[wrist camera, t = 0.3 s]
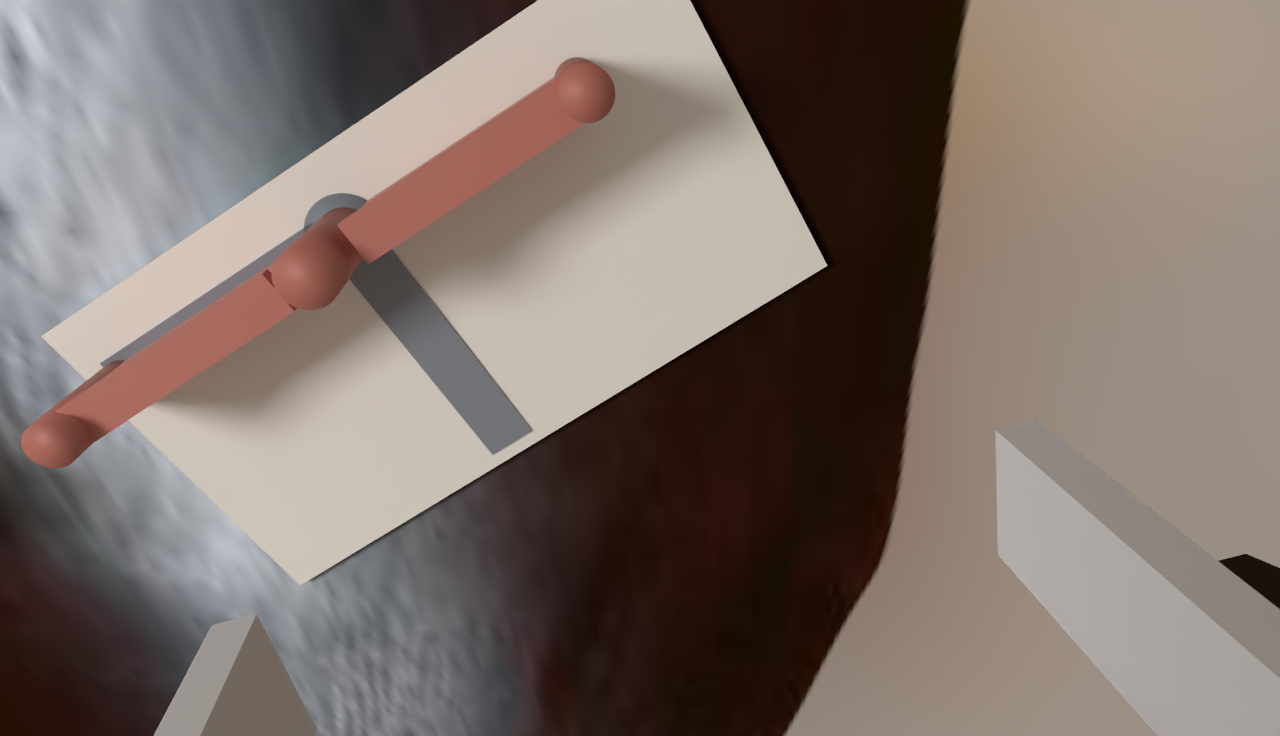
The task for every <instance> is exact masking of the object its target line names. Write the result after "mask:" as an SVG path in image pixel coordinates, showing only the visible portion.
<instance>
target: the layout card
mask: <svg viewBox="0 0 1280 736" xmlns="http://www.w3.org/2000/svg"><path fill="white" fill-rule="evenodd" d="M573 57H581V58H585V59H587V60H589V61H591V62H592V63H594V64H596V65H597V66H599V67H601V68H602V69H604V70H605V71H606V72H607V73H608V74H609V76H610V77H611V79H612V81H613V84H614V87H615V101H614V104H613V107H612V109H611V110H610V112H609V113H608V114H607V115H606V116H605V117H604V118H603V119H601V120H599V121H597V122H594V123H584V124H583V125H581V126H580V127H578V128H577V129H575V130H574V131H572V132H571V133H569V134H568V135H566V136H564V137H563V138H561V139H560V140H558V141H557V142H555V143H554V144H552V145H551V146H549V147H548V148H546V149H545V150H543V151H541V152H540V153H538V154H537V155H535V156H534V157H532V158H531V159H529V160H528V161H526V162H525V163H523V164H522V165H520V166H518V167H517V168H515V169H514V170H512V171H511V172H509V173H508V174H506V175H505V176H503V177H502V178H500V179H499V180H497V181H495V182H494V183H492V184H491V185H489V186H488V187H486V188H485V189H483V190H482V191H480V192H479V193H477V194H476V195H474V196H472V197H471V198H469V199H468V200H466V201H465V202H463V203H462V204H460V205H459V206H457V207H456V208H454V209H453V210H451V211H449V212H448V213H446V214H445V215H443V216H442V217H440V218H439V219H437V220H436V221H434V222H433V223H431V224H430V225H428V226H426V227H425V228H423V229H422V230H420V231H419V232H417V233H416V234H414V235H413V236H411V237H410V238H408V239H406V240H405V241H403V242H402V243H400V244H399V245H397V246H396V247H394V248H393V249H391V250H390V251H388V252H387V253H385V254H383V255H382V256H380V257H379V258H377V259H376V260H374V261H373V262H371V263H370V264H368V263H367V262H366V261H365V260H363V261H362V262H361V264H360V265H359V266H358V268H357V269H356V271H355V272H354V273H353V275H352V276H351V278H350V279H349V280H348V282H347V283H346V284H345V286H344V287H343V289H342V290H341V291H340V293H339V294H338V296H337V297H336V298H335V300H334V301H333V302H332V303H330V304H329V305H328V306H326V307H324V308H321V309H317V310H303V309H299V308H297V309H296V310H295V311H294V312H293V313H291V314H290V315H288V316H287V317H285V318H284V319H282V320H281V321H279V322H277V323H276V324H274V325H273V326H271V327H270V328H268V329H267V330H265V331H264V332H262V333H261V334H259V335H258V336H256V337H254V338H253V339H251V340H250V341H248V342H247V343H245V344H244V345H242V346H241V347H239V348H238V349H236V350H235V351H233V352H231V353H230V354H228V355H227V356H225V357H224V358H222V359H221V360H219V361H218V362H216V363H215V364H213V365H212V366H210V367H208V368H207V369H205V370H204V371H202V372H201V373H199V374H198V375H196V376H195V377H193V378H192V379H190V380H189V381H187V382H185V383H184V384H182V385H181V386H179V387H178V388H176V389H175V390H173V391H172V392H170V393H169V394H167V395H166V396H164V397H162V398H161V399H159V400H158V401H156V402H155V403H153V404H152V405H150V406H149V407H147V408H146V409H144V410H143V411H141V412H139V413H138V414H136V415H135V416H133V417H132V418H130V419H129V421H130V422H131V423H132V424H133V425H134V426H135V427H136V428H137V429H138V430H139V431H140V432H141V433H142V434H143V435H144V436H145V437H146V438H148V439H149V440H150V441H151V442H152V443H153V444H154V445H155V446H156V447H157V448H158V449H159V450H160V451H161V452H162V453H163V454H164V455H165V456H166V457H167V458H168V459H169V460H170V461H171V462H172V463H174V464H175V465H176V466H177V467H178V468H179V469H180V470H181V471H182V472H183V473H184V474H185V475H186V476H187V477H188V478H189V479H190V480H191V481H192V482H193V483H194V484H195V485H196V486H197V487H198V488H200V489H201V490H202V491H203V492H204V493H205V494H206V495H207V496H208V497H209V498H210V499H211V500H212V501H213V502H214V503H215V504H216V505H217V506H218V507H219V508H220V509H221V510H222V511H223V512H225V513H226V514H227V515H228V516H229V517H230V518H231V519H232V520H233V521H234V522H235V523H236V524H237V525H238V526H239V527H240V528H241V529H242V530H243V531H244V532H245V533H246V534H247V535H248V536H249V537H251V538H252V539H253V540H254V541H255V542H256V543H257V544H258V545H259V546H260V547H261V548H262V549H263V550H264V551H265V552H266V553H267V554H268V555H269V556H270V557H271V558H272V559H273V560H274V561H275V562H277V563H278V564H279V565H280V566H281V567H282V568H283V569H284V570H285V571H286V572H287V573H288V574H289V575H290V576H291V577H292V578H293V579H294V580H295V581H296V582H297V583H298V584H299V585H302V584H304V583H305V582H307V581H308V580H310V579H312V578H313V577H315V576H317V575H318V574H320V573H322V572H323V571H325V570H327V569H328V568H330V567H332V566H333V565H335V564H336V563H338V562H340V561H341V560H343V559H345V558H346V557H348V556H350V555H351V554H353V553H355V552H356V551H358V550H360V549H361V548H363V547H365V546H366V545H368V544H369V543H371V542H373V541H374V540H376V539H378V538H379V537H381V536H383V535H384V534H386V533H388V532H389V531H391V530H393V529H394V528H396V527H397V526H399V525H401V524H402V523H404V522H406V521H407V520H409V519H411V518H412V517H414V516H416V515H417V514H419V513H421V512H422V511H424V510H426V509H427V508H429V507H430V506H432V505H434V504H435V503H437V502H439V501H440V500H442V499H444V498H445V497H447V496H449V495H450V494H452V493H454V492H455V491H457V490H458V489H460V488H462V487H463V486H465V485H467V484H468V483H470V482H472V481H473V480H475V479H477V478H478V477H480V476H482V475H483V474H485V473H487V472H488V471H490V470H491V469H493V468H495V467H496V466H498V465H500V464H501V463H503V462H505V461H506V460H508V459H510V458H511V457H513V456H515V455H516V454H518V453H519V452H521V451H523V450H524V449H526V448H528V447H529V446H531V445H533V444H534V443H536V442H538V441H539V440H541V439H543V438H544V437H546V436H547V435H549V434H551V433H552V432H554V431H556V430H557V429H559V428H561V427H562V426H564V425H566V424H567V423H569V422H571V421H572V420H574V419H576V418H577V417H579V416H580V415H582V414H584V413H585V412H587V411H589V410H590V409H592V408H594V407H595V406H597V405H599V404H600V403H602V402H604V401H605V400H607V399H608V398H610V397H612V396H613V395H615V394H617V393H618V392H620V391H622V390H623V389H625V388H627V387H628V386H630V385H632V384H633V383H635V382H637V381H638V380H640V379H641V378H643V377H645V376H646V375H648V374H650V373H651V372H653V371H655V370H656V369H658V368H660V367H661V366H663V365H665V364H666V363H668V362H669V361H671V360H673V359H674V358H676V357H678V356H679V355H681V354H683V353H684V352H686V351H688V350H689V349H691V348H693V347H694V346H696V345H698V344H699V343H701V342H702V341H704V340H706V339H707V338H709V337H711V336H712V335H714V334H716V333H717V332H719V331H721V330H722V329H724V328H726V327H727V326H729V325H730V324H732V323H734V322H735V321H737V320H739V319H740V318H742V317H744V316H745V315H747V314H749V313H750V312H752V311H754V310H755V309H757V308H759V307H760V306H762V305H763V304H765V303H767V302H768V301H770V300H772V299H773V298H775V297H777V296H778V295H780V294H782V293H783V292H785V291H787V290H788V289H790V288H791V287H793V286H795V285H796V284H798V283H800V282H801V281H803V280H805V279H806V278H808V277H810V276H811V275H813V274H815V273H816V272H818V271H820V270H821V269H823V268H824V267H826V266H827V264H826V262H825V260H824V258H823V256H822V254H821V252H820V250H819V248H818V247H817V245H816V243H815V241H814V239H813V237H812V235H811V233H810V231H809V229H808V227H807V225H806V223H805V221H804V219H803V218H802V216H801V214H800V212H799V210H798V208H797V206H796V204H795V202H794V200H793V198H792V196H791V194H790V192H789V190H788V189H787V187H786V185H785V183H784V181H783V179H782V177H781V175H780V173H779V171H778V169H777V167H776V165H775V163H774V161H773V159H772V158H771V156H770V154H769V152H768V150H767V148H766V146H765V144H764V142H763V140H762V138H761V136H760V134H759V132H758V130H757V129H756V127H755V125H754V123H753V121H752V119H751V117H750V115H749V113H748V111H747V109H746V107H745V105H744V103H743V101H742V100H741V98H740V96H739V94H738V92H737V90H736V88H735V86H734V84H733V82H732V80H731V78H730V76H729V74H728V72H727V70H726V69H725V67H724V65H723V63H722V61H721V59H720V57H719V55H718V53H717V51H716V49H715V47H714V45H713V43H712V41H711V40H710V38H709V36H708V34H707V32H706V30H705V28H704V26H703V24H702V22H701V20H700V18H699V16H698V14H697V12H696V11H695V9H694V7H693V5H692V3H691V1H690V0H538V1H536V2H535V3H533V4H532V5H530V6H529V7H527V8H526V9H524V10H523V11H522V12H520V13H519V14H517V15H516V16H514V17H513V18H511V19H510V20H508V21H507V22H505V23H504V24H502V25H501V26H499V27H498V28H496V29H495V30H493V31H492V32H490V33H489V34H488V35H486V36H485V37H483V38H482V39H480V40H479V41H477V42H476V43H474V44H473V45H471V46H470V47H468V48H467V49H465V50H464V51H462V52H461V53H459V54H458V55H456V56H455V57H454V58H452V59H451V60H449V61H448V62H446V63H445V64H443V65H442V66H440V67H439V68H437V69H436V70H434V71H433V72H431V73H430V74H428V75H427V76H425V77H424V78H422V79H421V80H420V81H418V82H417V83H415V84H414V85H412V86H411V87H409V88H408V89H406V90H405V91H403V92H402V93H400V94H399V95H397V96H396V97H394V98H393V99H391V100H390V101H388V102H387V103H386V104H384V105H383V106H381V107H380V108H378V109H377V110H375V111H374V112H372V113H371V114H369V115H368V116H366V117H365V118H363V119H362V120H360V121H359V122H357V123H356V124H354V125H353V126H352V127H350V128H349V129H347V130H346V131H344V132H343V133H341V134H340V135H338V136H337V137H335V138H334V139H332V140H331V141H329V142H328V143H326V144H325V145H323V146H322V147H320V148H319V149H318V150H316V151H315V152H313V153H312V154H310V155H309V156H307V157H306V158H304V159H303V160H301V161H300V162H298V163H297V164H295V165H294V166H292V167H291V168H289V169H288V170H286V171H285V172H283V173H282V174H281V175H279V176H278V177H276V178H275V179H273V180H272V181H270V182H269V183H267V184H266V185H264V186H263V187H261V188H260V189H258V190H257V191H255V192H254V193H252V194H251V195H249V196H248V197H247V198H245V199H244V200H242V201H241V202H239V203H238V204H236V205H235V206H233V207H232V208H230V209H229V210H227V211H226V212H224V213H223V214H221V215H220V216H218V217H217V218H215V219H214V220H213V221H211V222H210V223H208V224H207V225H205V226H204V227H202V228H201V229H199V230H198V231H196V232H195V233H193V234H192V235H190V236H189V237H187V238H186V239H184V240H183V241H181V242H180V243H179V244H177V245H176V246H174V247H173V248H171V249H170V250H168V251H167V252H165V253H164V254H162V255H161V256H159V257H158V258H156V259H155V260H153V261H152V262H150V263H149V264H147V265H146V266H145V267H143V268H142V269H140V270H139V271H137V272H136V273H134V274H133V275H131V276H130V277H128V278H127V279H125V280H124V281H122V282H121V283H119V284H118V285H116V286H115V287H113V288H112V289H111V290H109V291H108V292H106V293H105V294H103V295H102V296H100V297H99V298H97V299H96V300H94V301H93V302H91V303H90V304H88V305H87V306H85V307H84V308H82V309H81V310H79V311H78V312H77V313H75V314H74V315H72V316H71V317H69V318H68V319H66V320H65V321H63V322H62V323H60V324H59V325H57V326H56V327H54V328H53V329H51V330H50V331H48V332H47V333H45V334H44V335H43V336H41V337H42V338H43V339H45V340H46V341H47V342H48V343H49V344H50V345H51V346H52V347H53V348H54V349H55V350H56V351H57V352H58V353H59V354H60V355H61V356H62V357H63V358H64V359H65V360H66V361H67V362H68V363H69V364H71V365H72V366H73V367H74V368H75V369H76V370H77V371H78V372H79V373H80V374H81V375H82V376H83V377H84V378H85V379H86V380H88V379H89V378H91V377H92V376H93V375H94V374H96V373H97V372H98V371H100V370H101V369H102V368H103V367H105V366H106V365H107V364H108V363H110V362H113V361H118V360H124V361H126V360H127V359H129V358H130V357H132V356H133V355H135V354H136V353H138V352H139V351H141V350H142V349H144V348H145V347H147V346H148V345H150V344H151V343H153V342H154V341H156V340H157V339H159V338H160V337H162V336H163V335H165V334H166V333H168V332H169V331H171V330H172V329H174V328H175V327H177V326H178V325H180V324H181V323H183V322H184V321H186V320H187V319H189V318H190V317H192V316H194V315H195V314H197V313H198V312H200V311H201V310H203V309H204V308H206V307H207V306H209V305H210V304H212V303H213V302H215V301H216V300H218V299H219V298H221V297H222V296H224V295H225V294H227V293H228V292H230V291H231V290H233V289H234V288H236V287H237V286H239V285H240V284H242V283H243V282H245V281H246V280H248V279H249V278H251V277H252V276H254V275H255V274H257V273H258V272H260V271H261V270H263V269H264V268H266V267H267V266H269V265H270V264H272V263H273V262H275V261H276V259H277V258H278V257H279V256H280V255H281V254H282V253H283V252H284V251H285V250H286V249H287V248H288V247H290V246H291V245H292V244H293V243H294V242H295V241H296V240H297V239H298V238H299V237H301V236H302V235H303V234H304V233H305V232H306V231H307V230H308V229H309V228H310V227H312V226H313V225H314V224H315V223H316V222H317V221H318V220H319V219H320V218H321V217H323V216H324V215H325V214H326V213H327V212H329V211H330V210H332V209H335V208H340V207H346V208H351V209H354V210H358V209H360V208H361V207H362V206H363V205H364V204H365V203H366V202H367V201H368V200H369V199H371V198H372V197H374V196H375V195H377V194H378V193H380V192H381V191H383V190H384V189H386V188H387V187H389V186H390V185H392V184H393V183H395V182H396V181H398V180H399V179H401V178H402V177H404V176H405V175H407V174H408V173H410V172H411V171H413V170H414V169H416V168H417V167H419V166H420V165H422V164H423V163H425V162H426V161H428V160H429V159H431V158H432V157H434V156H435V155H437V154H439V153H440V152H442V151H443V150H445V149H446V148H448V147H449V146H451V145H452V144H454V143H455V142H457V141H458V140H460V139H461V138H463V137H464V136H466V135H467V134H469V133H470V132H472V131H473V130H475V129H476V128H478V127H479V126H481V125H482V124H484V123H485V122H487V121H488V120H490V119H491V118H493V117H494V116H496V115H497V114H499V113H500V112H502V111H503V110H505V109H506V108H508V107H509V106H511V105H512V104H514V103H515V102H517V101H518V100H520V99H522V98H523V97H525V96H526V95H528V94H529V93H531V92H532V91H534V90H535V89H537V88H538V87H540V86H541V85H543V84H544V83H546V82H547V81H549V80H550V79H552V78H553V77H554V76H555V73H556V70H557V69H558V67H559V66H560V64H561V63H562V62H564V61H565V60H567V59H569V58H573Z"/></svg>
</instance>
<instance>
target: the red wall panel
mask: <svg viewBox="0 0 1280 736" xmlns="http://www.w3.org/2000/svg"><path fill="white" fill-rule="evenodd" d="M614 101H615V87H614V84H613V81H612V79H611V77H610V76H609V74H608V73H607V72H606V71H605V70H604V69H602V68H601V67H599V66H597V65H596V64H594V63H592V62H591V61H589V60H587V59H585V58H581V57H573V58H569V59H567V60H565V61H564V62H562V63H561V64H560V66H559V67H558V69H557V70H556V73H555V76H554V77H553V78H552V79H550V80H549V81H547V82H546V83H544V84H543V85H541V86H540V87H538V88H537V89H535V90H534V91H532V92H531V93H529V94H528V95H526V96H525V97H523V98H522V99H520V100H518V101H517V102H515V103H514V104H512V105H511V106H509V107H508V108H506V109H505V110H503V111H502V112H500V113H499V114H497V115H496V116H494V117H493V118H491V119H490V120H488V121H487V122H485V123H484V124H482V125H481V126H479V127H478V128H476V129H475V130H473V131H472V132H470V133H469V134H467V135H466V136H464V137H463V138H461V139H460V140H458V141H457V142H455V143H454V144H452V145H451V146H449V147H448V148H446V149H445V150H443V151H442V152H440V153H439V154H437V155H435V156H434V157H432V158H431V159H429V160H428V161H426V162H425V163H423V164H422V165H420V166H419V167H417V168H416V169H414V170H413V171H411V172H410V173H408V174H407V175H405V176H404V177H402V178H401V179H399V180H398V181H396V182H395V183H393V184H392V185H390V186H389V187H387V188H386V189H384V190H383V191H381V192H380V193H378V194H377V195H375V196H374V197H372V198H371V199H369V200H368V201H367V202H366V203H365V204H364V205H363V206H362V207H361V208H360V209H358V210H357V211H355V212H354V213H352V214H351V215H349V216H348V217H346V218H345V219H343V220H342V221H340V222H339V223H338V224H337V226H338V227H339V228H340V229H341V231H342V232H343V233H344V235H345V236H346V237H347V238H348V240H349V241H350V242H351V243H352V245H353V246H354V247H355V248H356V250H357V251H358V252H359V253H360V255H361V256H362V257H363V258H364V260H365V261H366V262H367V263H368V264H370V263H371V262H373V261H374V260H376V259H377V258H379V257H380V256H382V255H383V254H385V253H387V252H388V251H390V250H391V249H393V248H394V247H396V246H397V245H399V244H400V243H402V242H403V241H405V240H406V239H408V238H410V237H411V236H413V235H414V234H416V233H417V232H419V231H420V230H422V229H423V228H425V227H426V226H428V225H430V224H431V223H433V222H434V221H436V220H437V219H439V218H440V217H442V216H443V215H445V214H446V213H448V212H449V211H451V210H453V209H454V208H456V207H457V206H459V205H460V204H462V203H463V202H465V201H466V200H468V199H469V198H471V197H472V196H474V195H476V194H477V193H479V192H480V191H482V190H483V189H485V188H486V187H488V186H489V185H491V184H492V183H494V182H495V181H497V180H499V179H500V178H502V177H503V176H505V175H506V174H508V173H509V172H511V171H512V170H514V169H515V168H517V167H518V166H520V165H522V164H523V163H525V162H526V161H528V160H529V159H531V158H532V157H534V156H535V155H537V154H538V153H540V152H541V151H543V150H545V149H546V148H548V147H549V146H551V145H552V144H554V143H555V142H557V141H558V140H560V139H561V138H563V137H564V136H566V135H568V134H569V133H571V132H572V131H574V130H575V129H577V128H578V127H580V126H581V125H583V124H584V123H594V122H597V121H599V120H601V119H603V118H604V117H605V116H606V115H607V114H608V113H609V112H610V110H611V109H612V107H613V104H614Z"/></svg>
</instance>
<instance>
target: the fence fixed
mask: <svg viewBox="0 0 1280 736" xmlns="http://www.w3.org/2000/svg"><path fill="white" fill-rule="evenodd" d="M355 211H357V210H354V209H351V208H346V207H340V208H335V209H332V210H330V211H329V212H327V213H326V214H325V215H324V216H323V217H321V218H320V219H319V220H318V221H317V222H316V223H315V224H314V225H313V226H312V227H310V228H309V229H308V230H307V231H306V232H305V233H304V234H303V235H302V236H301V237H299V238H298V239H297V240H296V241H295V242H294V243H293V244H292V245H291V246H290V247H288V248H287V249H286V250H285V251H284V252H283V253H282V254H281V255H280V256H279V257H278V258H277V259H276V261H275V262H273V263H272V264H270V265H269V266H267V267H266V268H264V269H263V270H261V271H260V272H258V273H257V274H255V275H254V276H252V277H251V278H249V279H248V280H246V281H245V282H243V283H242V284H240V285H239V286H237V287H236V288H234V289H233V290H231V291H230V292H228V293H227V294H225V295H224V296H222V297H221V298H219V299H218V300H216V301H215V302H213V303H212V304H210V305H209V306H207V307H206V308H204V309H203V310H201V311H200V312H198V313H197V314H195V315H194V316H192V317H190V318H189V319H187V320H186V321H184V322H183V323H181V324H180V325H178V326H177V327H175V328H174V329H172V330H171V331H169V332H168V333H166V334H165V335H163V336H162V337H160V338H159V339H157V340H156V341H154V342H153V343H151V344H150V345H148V346H147V347H145V348H144V349H142V350H141V351H139V352H138V353H136V354H135V355H133V356H132V357H130V358H129V359H127V360H126V361H124V360H118V361H113V362H110V363H108V364H107V365H106V366H105V367H103V368H102V369H101V370H100V371H98V372H97V373H96V374H94V375H93V376H92V377H91V378H89V379H88V380H87V381H86V382H84V383H83V384H82V385H81V386H79V387H78V388H77V389H76V390H74V391H73V392H72V393H71V394H69V395H68V396H67V397H66V398H64V399H63V400H62V401H61V402H59V403H58V404H57V405H56V406H54V407H53V408H52V409H51V410H49V411H48V412H47V413H45V414H44V415H43V416H42V417H40V418H39V419H38V420H37V421H35V422H34V423H33V424H32V425H30V426H29V427H28V428H27V429H26V430H25V431H24V432H23V434H22V436H21V446H22V449H23V451H24V453H25V454H26V455H27V456H28V457H29V458H30V459H31V460H32V461H33V462H35V463H37V464H39V465H41V466H44V467H48V468H62V467H65V466H68V465H69V464H71V463H72V462H73V461H74V460H75V459H76V458H77V457H79V456H80V455H81V454H82V453H83V452H84V451H85V450H86V449H87V448H88V447H89V446H90V445H91V444H92V443H93V442H95V441H97V440H98V439H100V438H101V437H103V436H104V435H106V434H107V433H109V432H110V431H112V430H113V429H115V428H116V427H118V426H120V425H121V424H123V423H124V422H126V421H127V420H129V419H130V418H132V417H133V416H135V415H136V414H138V413H139V412H141V411H143V410H144V409H146V408H147V407H149V406H150V405H152V404H153V403H155V402H156V401H158V400H159V399H161V398H162V397H164V396H166V395H167V394H169V393H170V392H172V391H173V390H175V389H176V388H178V387H179V386H181V385H182V384H184V383H185V382H187V381H189V380H190V379H192V378H193V377H195V376H196V375H198V374H199V373H201V372H202V371H204V370H205V369H207V368H208V367H210V366H212V365H213V364H215V363H216V362H218V361H219V360H221V359H222V358H224V357H225V356H227V355H228V354H230V353H231V352H233V351H235V350H236V349H238V348H239V347H241V346H242V345H244V344H245V343H247V342H248V341H250V340H251V339H253V338H254V337H256V336H258V335H259V334H261V333H262V332H264V331H265V330H267V329H268V328H270V327H271V326H273V325H274V324H276V323H277V322H279V321H281V320H282V319H284V318H285V317H287V316H288V315H290V314H291V313H293V312H294V311H295V310H296V309H297V308H299V309H303V310H317V309H321V308H324V307H326V306H328V305H329V304H330V303H332V302H333V301H334V300H335V298H336V297H337V296H338V294H339V293H340V291H341V290H342V289H343V287H344V286H345V284H346V283H347V282H348V280H349V279H350V278H351V276H352V275H353V273H354V272H355V271H356V269H357V268H358V266H359V265H360V264H361V262H362V261H363V260H364V258H363V257H362V256H361V255H360V253H359V252H358V251H357V250H356V248H355V247H354V246H353V245H352V243H351V242H350V241H349V240H348V238H347V237H346V236H345V235H344V233H343V232H342V231H341V229H340V228H339V227H338V226H337V224H338V223H339V222H340V221H342V220H343V219H345V218H346V217H348V216H349V215H351V214H352V213H354V212H355Z"/></svg>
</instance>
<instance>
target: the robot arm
mask: <svg viewBox="0 0 1280 736" xmlns="http://www.w3.org/2000/svg"><path fill="white" fill-rule="evenodd" d="M995 434H996V436H995V437H996V482H997V527H998V555H999V556H1000V557H1001V559H1002V560H1003V561H1004V562H1005V563H1006V564H1007V565H1008V566H1009V568H1010V569H1011V570H1012V571H1013V572H1014V573H1015V574H1016V576H1017V577H1018V578H1019V579H1020V580H1021V581H1022V582H1023V583H1024V585H1025V586H1026V587H1027V588H1028V589H1029V590H1030V591H1031V593H1032V594H1033V595H1034V596H1035V597H1036V598H1037V599H1038V601H1040V603H1041V604H1042V605H1043V606H1044V607H1045V608H1046V610H1047V611H1048V612H1049V613H1050V614H1051V615H1052V616H1053V618H1054V619H1055V620H1056V621H1057V622H1058V623H1059V624H1060V625H1061V627H1062V628H1063V629H1064V630H1065V631H1066V632H1067V633H1068V634H1069V636H1070V637H1071V638H1072V639H1073V640H1074V641H1075V642H1076V644H1077V645H1078V646H1079V647H1080V648H1081V649H1082V650H1083V651H1084V653H1085V654H1086V655H1087V656H1088V657H1089V658H1090V660H1091V661H1092V662H1093V663H1094V664H1095V665H1096V666H1097V667H1098V669H1099V670H1100V671H1101V672H1102V673H1103V674H1104V675H1105V676H1106V678H1107V679H1108V680H1109V681H1110V682H1111V683H1112V684H1113V686H1114V687H1115V688H1116V689H1117V690H1118V691H1119V692H1120V694H1121V695H1122V696H1123V697H1124V698H1125V699H1126V700H1127V701H1128V703H1129V704H1130V705H1131V706H1132V707H1133V708H1134V709H1135V711H1136V712H1137V713H1138V714H1139V715H1140V716H1141V717H1142V718H1143V720H1144V721H1145V722H1146V723H1147V724H1148V725H1149V726H1150V728H1151V729H1152V730H1153V731H1154V732H1155V733H1156V734H1157V736H1280V568H1278V567H1276V566H1273V565H1271V564H1269V563H1266V562H1264V561H1262V560H1259V559H1257V558H1254V557H1252V556H1250V555H1247V554H1243V555H1240V556H1236V557H1232V558H1228V559H1224V560H1220V561H1217V560H1216V559H1215V558H1214V557H1212V556H1211V555H1210V554H1208V553H1207V552H1206V551H1204V550H1203V549H1202V548H1201V547H1199V546H1198V545H1197V544H1196V543H1194V542H1193V541H1192V540H1190V539H1189V538H1188V537H1187V536H1185V535H1184V534H1183V533H1181V532H1180V531H1179V530H1178V529H1176V528H1175V527H1174V526H1173V525H1171V524H1170V523H1169V522H1167V521H1166V520H1165V519H1164V518H1162V517H1161V516H1159V515H1158V514H1157V513H1156V512H1155V511H1153V510H1152V509H1151V508H1149V507H1148V506H1147V505H1146V504H1144V503H1143V502H1142V501H1141V500H1139V499H1138V498H1137V497H1135V496H1134V495H1133V494H1132V493H1130V492H1129V491H1128V490H1126V489H1125V488H1124V487H1123V486H1121V485H1120V484H1119V483H1117V482H1116V481H1115V480H1113V479H1112V478H1111V477H1110V476H1109V475H1107V474H1106V473H1105V472H1103V471H1102V470H1101V469H1099V468H1098V467H1097V466H1096V465H1094V464H1093V463H1092V462H1091V461H1089V460H1088V459H1087V458H1085V457H1084V456H1083V455H1082V454H1080V453H1079V452H1078V451H1077V450H1075V449H1074V448H1073V447H1071V446H1070V445H1069V444H1068V443H1066V442H1065V441H1064V440H1062V439H1061V438H1060V437H1059V436H1057V435H1056V434H1055V433H1053V432H1052V431H1051V430H1050V429H1048V428H1047V427H1046V426H1045V425H1043V424H1042V423H1041V422H1039V421H1038V420H1034V421H1030V422H1026V423H1022V424H1018V425H1014V426H1010V427H1006V428H1002V429H998V430H996V431H995ZM315 731H316V726H315V725H314V723H313V721H312V719H311V717H310V715H309V713H308V711H307V709H306V707H305V705H304V704H303V702H302V700H301V698H300V696H299V694H298V692H297V690H296V688H295V686H294V685H293V683H292V681H291V679H290V677H289V675H288V673H287V671H286V669H285V667H284V665H283V664H282V662H281V660H280V658H279V656H278V654H277V652H276V650H275V648H274V646H273V644H272V643H271V641H270V639H269V637H268V635H267V633H266V631H265V629H264V627H263V625H262V623H261V622H260V620H259V618H258V616H257V614H255V615H251V616H247V617H243V618H239V619H235V620H231V621H227V622H223V623H219V624H215V625H212V626H211V628H210V630H209V632H208V634H207V636H206V637H205V639H204V641H203V643H202V645H201V647H200V649H199V651H198V653H197V655H196V656H195V658H194V660H193V662H192V664H191V666H190V668H189V670H188V672H187V673H186V675H185V677H184V679H183V681H182V683H181V685H180V687H179V689H178V691H177V692H176V694H175V696H174V698H173V700H172V702H171V704H170V706H169V708H168V709H167V711H166V713H165V715H164V717H163V719H162V721H161V723H160V725H159V726H158V728H157V730H156V732H155V734H154V736H314V734H315Z"/></svg>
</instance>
